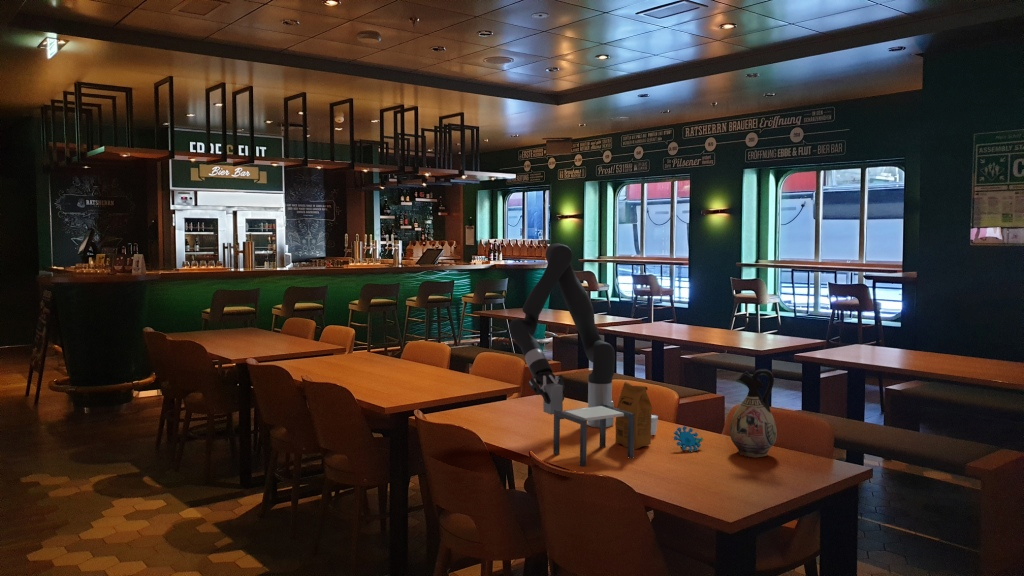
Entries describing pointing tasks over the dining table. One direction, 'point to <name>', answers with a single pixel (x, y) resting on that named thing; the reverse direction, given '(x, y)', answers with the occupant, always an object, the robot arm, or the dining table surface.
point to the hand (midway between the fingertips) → (555, 401)
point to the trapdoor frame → (583, 432)
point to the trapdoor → (594, 413)
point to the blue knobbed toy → (687, 439)
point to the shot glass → (653, 424)
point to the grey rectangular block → (553, 398)
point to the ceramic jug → (754, 418)
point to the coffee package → (639, 404)
